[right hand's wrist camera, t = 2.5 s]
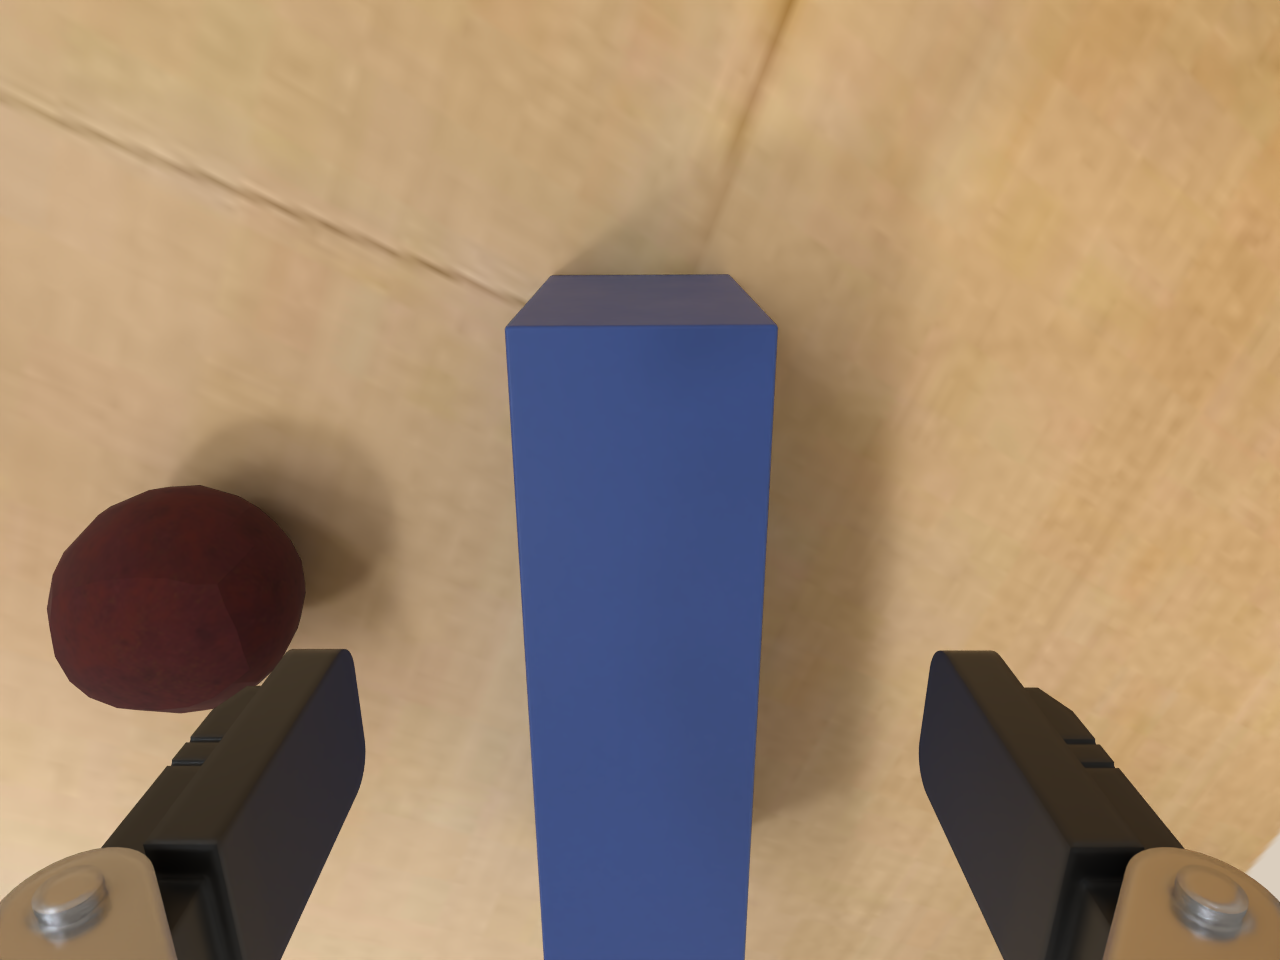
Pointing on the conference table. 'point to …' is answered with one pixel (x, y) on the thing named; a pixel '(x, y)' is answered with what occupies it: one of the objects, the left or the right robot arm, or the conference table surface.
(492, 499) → the conference table surface
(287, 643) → the dark red ball
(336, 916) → the conference table surface
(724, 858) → the box
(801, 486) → the conference table surface
